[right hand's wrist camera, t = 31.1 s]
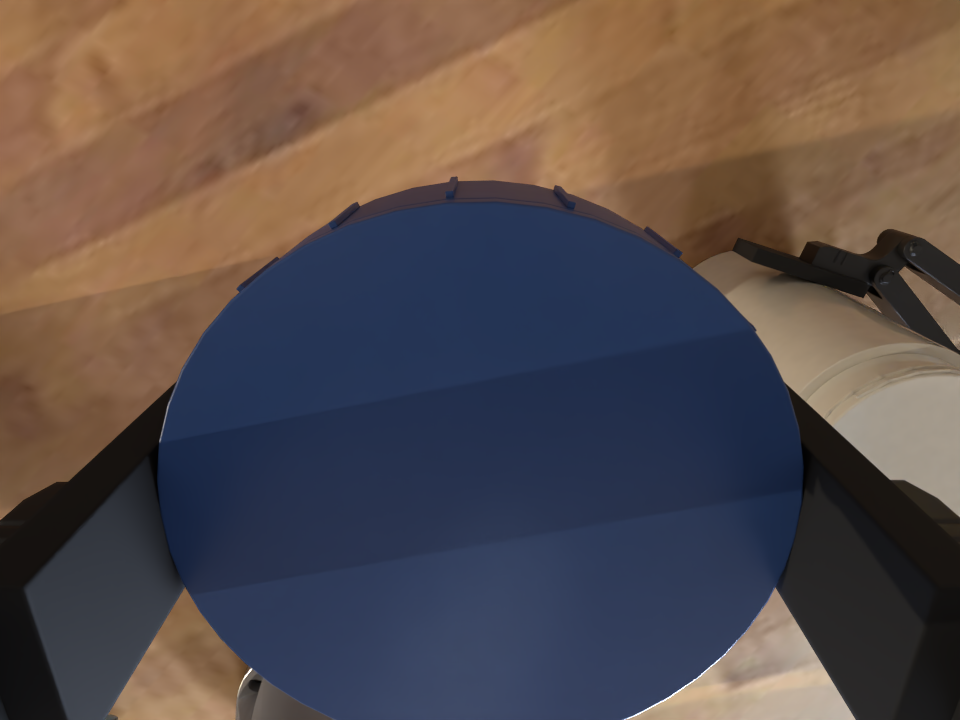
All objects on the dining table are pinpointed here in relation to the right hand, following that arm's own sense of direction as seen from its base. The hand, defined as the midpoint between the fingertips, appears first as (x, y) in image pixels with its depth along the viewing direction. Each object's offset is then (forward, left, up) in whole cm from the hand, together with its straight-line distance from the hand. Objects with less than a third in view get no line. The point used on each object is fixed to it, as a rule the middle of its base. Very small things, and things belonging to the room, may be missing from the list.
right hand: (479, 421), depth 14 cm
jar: (-9, -16, -29) cm, 34 cm away
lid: (0, 0, +3) cm, 3 cm away
